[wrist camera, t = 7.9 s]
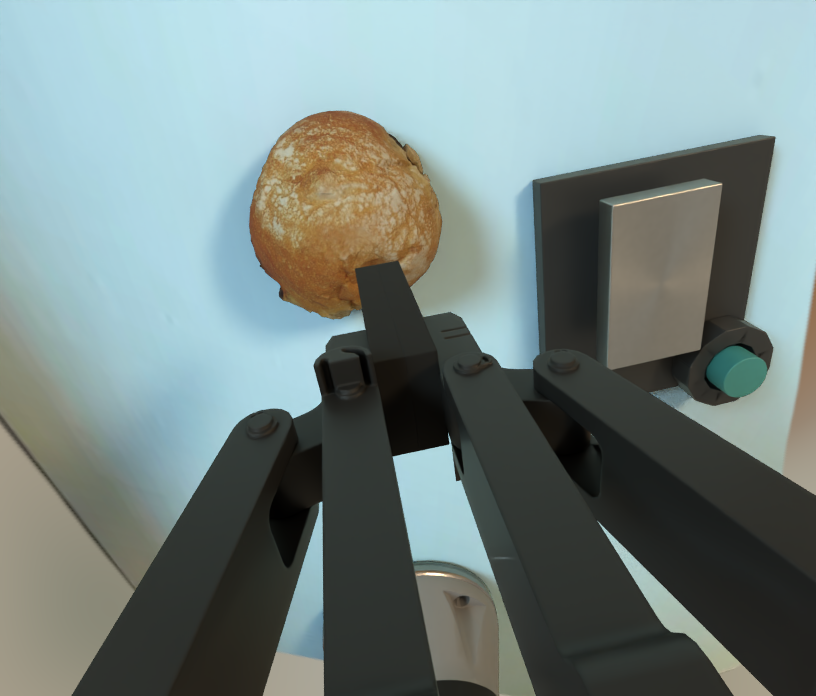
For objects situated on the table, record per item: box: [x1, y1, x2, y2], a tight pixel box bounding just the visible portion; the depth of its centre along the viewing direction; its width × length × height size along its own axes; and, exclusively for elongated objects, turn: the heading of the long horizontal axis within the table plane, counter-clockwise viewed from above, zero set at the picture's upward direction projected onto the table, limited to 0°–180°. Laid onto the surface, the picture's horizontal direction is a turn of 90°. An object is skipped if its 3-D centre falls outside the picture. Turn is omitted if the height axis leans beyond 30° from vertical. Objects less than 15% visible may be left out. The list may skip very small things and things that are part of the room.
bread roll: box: [249, 111, 442, 319], centre depth 26 cm, size 10×10×8 cm
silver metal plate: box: [596, 179, 722, 370], centre depth 29 cm, size 10×6×2 cm, turn 9°
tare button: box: [706, 346, 767, 398], centre depth 33 cm, size 3×3×2 cm
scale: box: [533, 135, 775, 406], centre depth 32 cm, size 17×15×3 cm
